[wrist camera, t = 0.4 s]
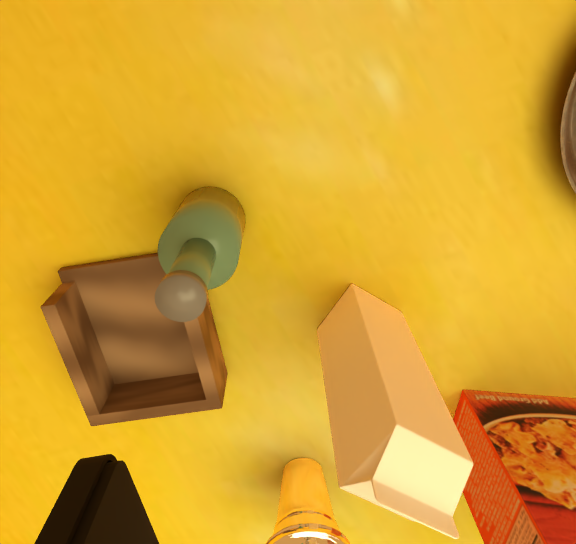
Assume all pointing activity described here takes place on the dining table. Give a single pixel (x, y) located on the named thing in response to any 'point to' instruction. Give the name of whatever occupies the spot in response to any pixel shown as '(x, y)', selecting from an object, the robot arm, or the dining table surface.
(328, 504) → the cup with straw
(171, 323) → the u rest
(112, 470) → the robot arm
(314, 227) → the dining table surface
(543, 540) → the pasta box
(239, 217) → the bottle
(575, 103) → the plant saucer
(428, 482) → the milk
